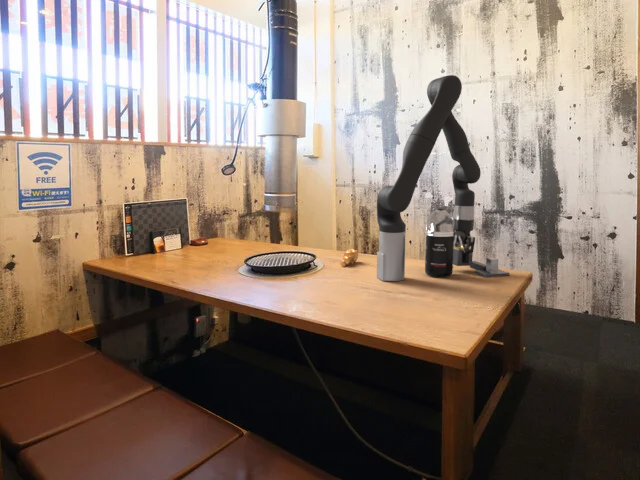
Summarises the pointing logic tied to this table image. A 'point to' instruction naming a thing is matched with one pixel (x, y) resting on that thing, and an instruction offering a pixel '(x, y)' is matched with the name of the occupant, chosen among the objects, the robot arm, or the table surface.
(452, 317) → the table surface
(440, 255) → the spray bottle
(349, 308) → the table surface
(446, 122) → the robot arm
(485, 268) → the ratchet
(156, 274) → the table surface
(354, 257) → the figurine
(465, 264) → the khaki matte cube
